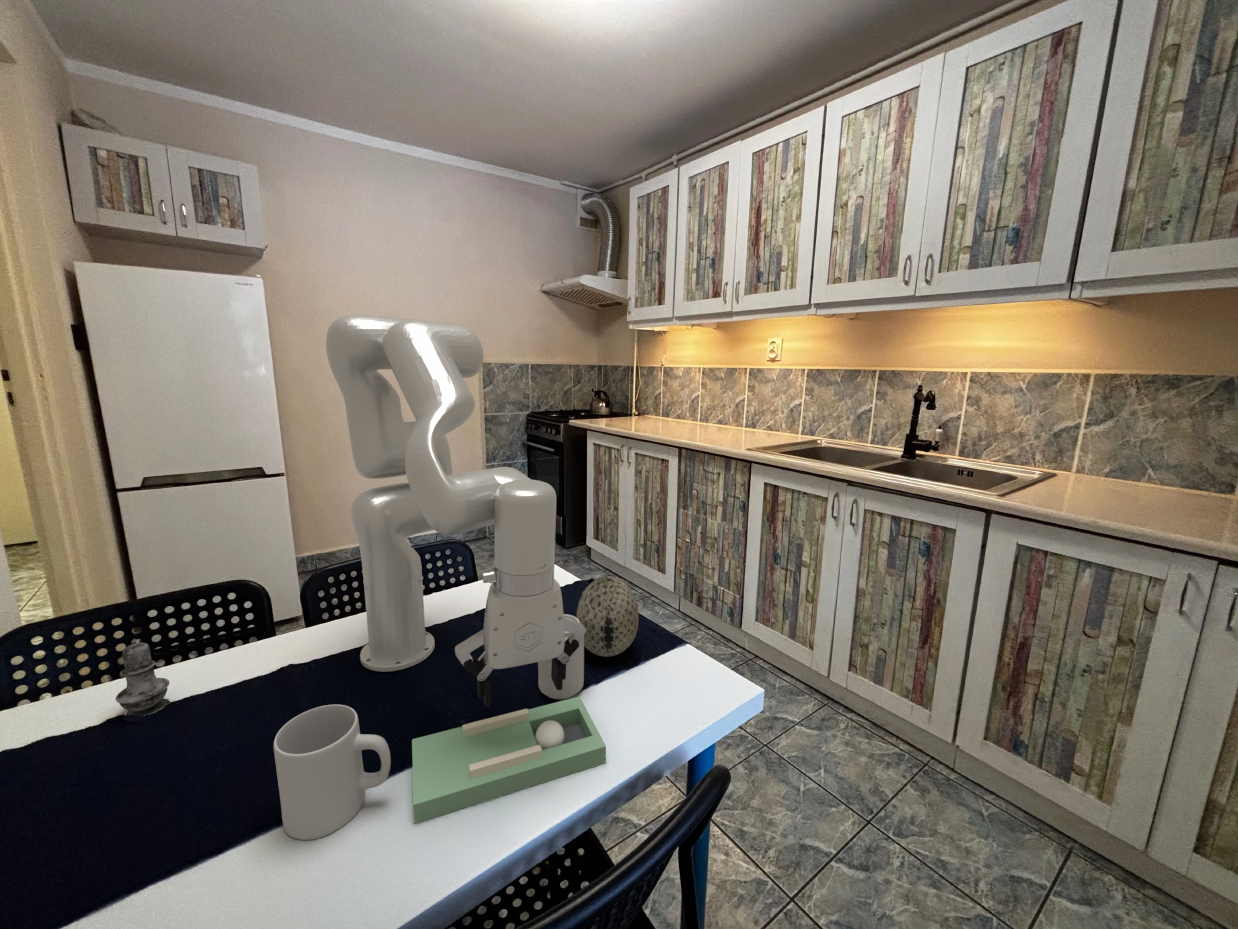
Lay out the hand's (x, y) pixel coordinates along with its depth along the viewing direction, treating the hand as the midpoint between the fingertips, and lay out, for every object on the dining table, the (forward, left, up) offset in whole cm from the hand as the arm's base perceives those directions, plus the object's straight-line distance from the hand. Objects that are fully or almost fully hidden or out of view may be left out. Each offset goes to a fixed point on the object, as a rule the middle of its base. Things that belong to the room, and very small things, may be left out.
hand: (522, 691), depth 67 cm
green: (+1, -2, -9) cm, 9 cm away
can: (-11, +9, -9) cm, 17 cm away
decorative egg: (-18, +20, -9) cm, 28 cm away
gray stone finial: (-29, -51, -9) cm, 60 cm away
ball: (+2, +3, -7) cm, 8 cm away
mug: (+1, -22, -9) cm, 24 cm away
